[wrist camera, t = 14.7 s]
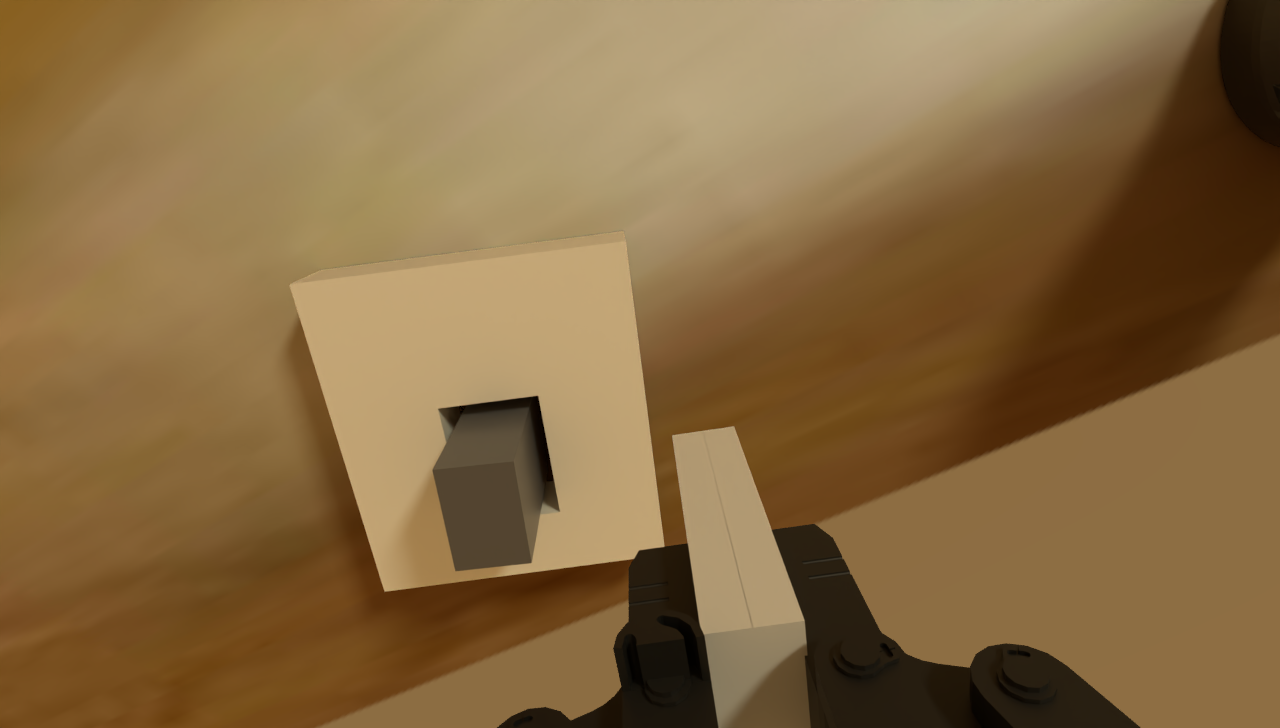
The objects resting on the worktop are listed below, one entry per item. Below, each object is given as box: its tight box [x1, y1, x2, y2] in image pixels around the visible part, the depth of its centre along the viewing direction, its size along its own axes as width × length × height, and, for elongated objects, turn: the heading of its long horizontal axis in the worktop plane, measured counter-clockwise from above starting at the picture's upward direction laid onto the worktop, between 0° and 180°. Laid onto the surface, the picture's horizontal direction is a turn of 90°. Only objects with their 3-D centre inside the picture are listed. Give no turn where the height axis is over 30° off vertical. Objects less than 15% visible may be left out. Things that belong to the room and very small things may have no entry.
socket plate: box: [289, 231, 664, 592], centre depth 39 cm, size 18×20×4 cm
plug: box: [432, 396, 548, 571], centre depth 37 cm, size 4×6×10 cm, turn 5°
